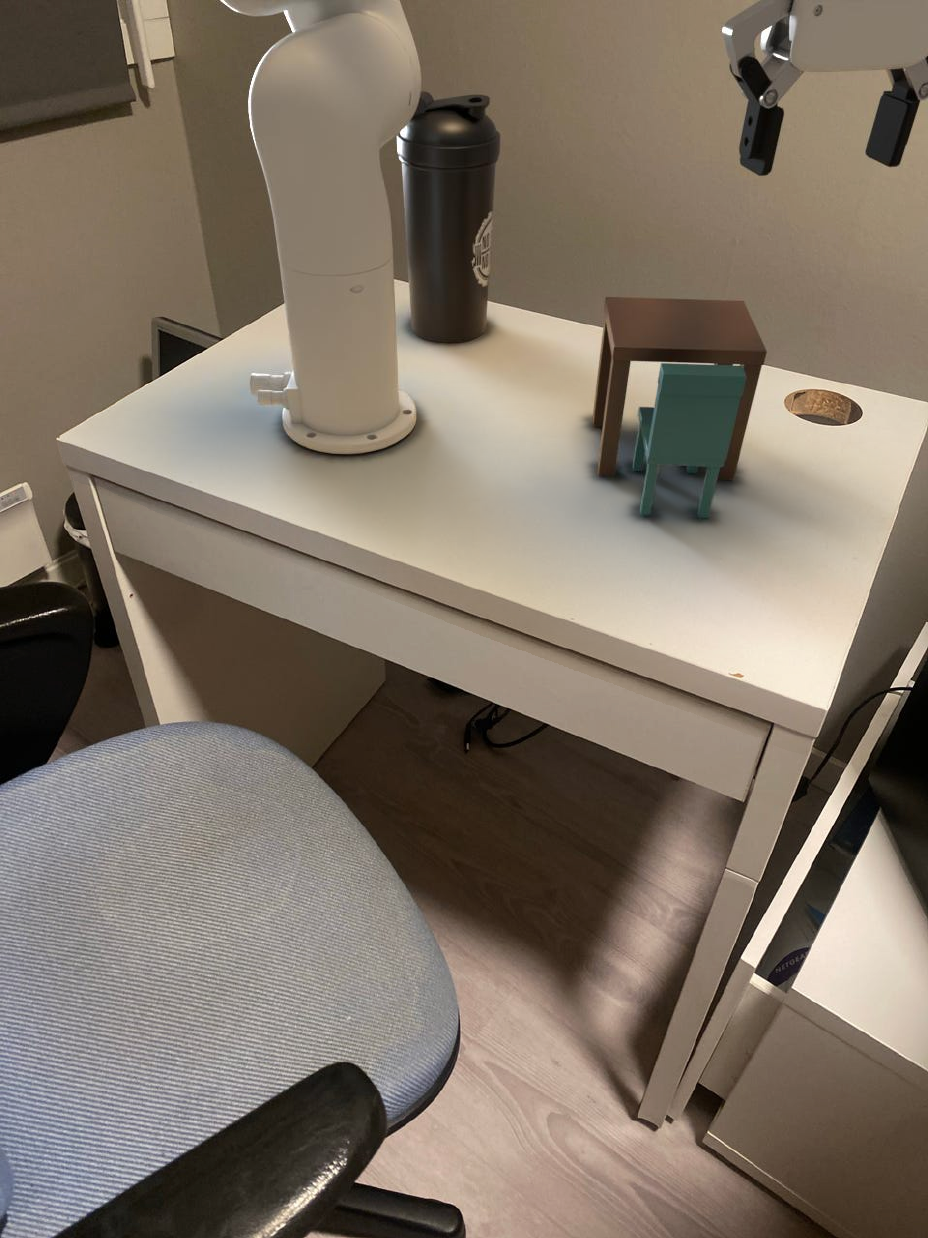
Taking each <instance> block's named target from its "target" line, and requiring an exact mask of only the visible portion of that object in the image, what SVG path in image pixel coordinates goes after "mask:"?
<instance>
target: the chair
mask: <svg viewBox="0 0 928 1238" xmlns="http://www.w3.org/2000/svg"><path fill="white" fill-rule="evenodd" d="M658 372H659V373H658V378H657V390H656V395H655V402H654V407H652V406H649V407H648V406H638V409H637V418H638V427H637V434H636V441H635V447H634V454H633V460H632V466H631V467H632V471H633V472H642V471H643V468H644V460H645V459H646V460H645V461H646V470H645V476H644V480H643V481H644V482H643V488H642V493H641V500H640V505H639V514H640V516H647V517H648V516H649V517H650V516H651V513H652V512H651V511H652V508H653V507H652V506H653V501H654V495H655V491H656V484H657V478H658V472H659V466H677V467H678V466H680V467H686V472H687V474H697V472H698V468H699V467H706V472H705V477H704V481H703V484H702V490H701V494H700V499H699V504H698V508H697V517H698V518H700V519H705V518H706V519H708V518H709V516H710V512H711V507H712V504H713V500H714V494H715V491H716V486H717V483H718V474H719V469H720V467H723V466H724V462H725V460H726V457H727V452H728V448H729V444H730V440H731V436H732V431H733V427H734V423H735V419H736V414H737V410H738V406H739V402H740V398H741V397H742V394H743V390H744V386H745V382H746V378H747V377H746V374H745V372H744V369H743V367H742V366H740V365H736V364H733V365H714V364H705V363H673V362H660V366H659V371H658Z"/></svg>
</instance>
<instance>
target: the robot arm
mask: <svg viewBox="0 0 928 1238" xmlns="http://www.w3.org/2000/svg"><path fill="white" fill-rule="evenodd" d="M220 1H221V2H222V3H223V4H224V5H226V6H227V7H228V8H230V9H231V10H233V11H234V12H235V13H239V14H241V15H244V16H245V15H246V16H250V17H267V16H273V15H277V14H280V13H283V12H284V15H285V17H286V20H287V22H288V24H289V26H290V28H291V31H292V32H291V33H288V34H287V35H285V36H284V37H282V38H281V39H279V40H278V41H276V42H275V44H273V45H272V46H271V47H270V48H269V49H268V50H267V51H266V53H265V54H264V55H263V57H262V58H261V60H260V61H259V63H258V65H257V67H256V69H255V71H254V74H253V75H252V76H253V77H252V80H251V84H250V88H249V94H248V115H249V123H250V129H251V133H252V139H253V141H254V145H255V149H256V152H257V156H258V159H259V162H260V163H259V164H260V166H261V169H262V172H263V177H264V180H265V184H266V188H267V193H268V197H269V202H270V209H271V213H272V219H273V226H274V227H273V228H274V234H275V241H276V249H277V257H278V261H279V262H278V263H279V269H280V278H281V286H282V291H283V292H282V293H283V301H284V309H285V318H286V325H287V332H288V333H287V334H288V340H289V348H290V356H291V357H290V358H291V364H292V371H284V373H283V375H279V374H278V375H277V374H276V375H274V374H270V373H252V374H251V375H250V378H249V386H250V387H249V388H250V392H251V394H252V395H255V396H257V403H258V405H259V406H283V409H282V414H281V418H282V425H283V429H284V432H285V433H286V435H287V436H288V437H289V438H290V439H291V440H292V441H293V442H295V443H297V444H299V445H300V446H302V447H304V448H307V449H309V450H313V451H315V452H320V453H327V454H334V455H335V454H336V455H355V454H364V453H369V452H370V453H371V452H374V451H375V452H376V451H377V450H382V449H385V448H388V447H390V446H393V445H395V444H396V443H398V442H400V441H402V440H403V439H404V438H405V437H407V435H409V434H410V433H412V430H413V429H414V427H415V426H416V422H417V407H416V403H415V402H414V400H413V398H412V397H411V396H409V394H407V393H406V392H405V391H403V390H401V389H400V387H399V365H398V364H399V363H398V340H397V339H398V338H397V320H396V319H397V317H396V292H395V271H394V270H395V268H394V249H393V247H394V246H393V228H392V227H393V226H392V218H391V209H390V204H389V198H388V194H387V189H386V185H385V181H384V176H383V173H382V172H383V171H382V167H381V160H380V150H381V148H382V147H383V146H384V145H385V144H387V143H388V142H389V141H391V140H392V139H393V138H395V137H397V134H398V133H400V132H401V131H402V130H403V129H404V128H405V127H406V125H407V124H408V123H409V122H410V120H411V118H412V117H413V115H414V113H415V111H416V108H417V105H418V102H419V98H420V93H421V92H422V70H421V64H420V59H419V54H418V51H417V47H416V44H415V40H414V37H413V35H412V34H413V33H412V31H411V29H410V26H409V23H408V20H407V17H406V14H405V11H404V9H403V7H402V3H401V1H400V0H220ZM759 34H761V36H760V43H759V45H760V46H759V47H760V51H761V53H762V54H763V55H764V56H765V57H764V58H763V60H762V61H761V62H760V61H759V59H757V57H756V53H755V51H756V49H755V41H756V38H757V36H759ZM722 36H723V40H724V45H725V50H726V54H727V57H728V59H729V65H728V66H729V67H728V68H729V72H730V74H731V75H732V77H733V78H734V79H735V82H737V84H738V86H739V88H740V90H741V94H742V97H743V98H745V99H746V100H747V105H746V110H745V115H744V121H743V125H742V129H741V130H742V131H741V134H740V135H741V136H740V141H739V146H738V152H739V155H740V157H739V163H740V164H739V165H740V166H742V167H744V168H745V169H747V170H748V171H750V172H752V173H753V174H755V175H757V176H758V177H763V176H764V177H765V176H769V174H770V173H771V172H772V170H773V166H774V162H775V157H776V153H777V148H778V144H779V139H780V135H781V131H782V127H783V122H784V121H783V120H784V118H785V117H784V116H785V110H784V108H783V107H780V106H778V104H779V102H780V100H781V99H782V98H783V97H784V96H785V95H786V94H787V93H788V92H789V90H790V89H791V88H792V87H793V86H794V84H795V83H796V82H797V81H798V80H799V79H800V78H801V76H802V75H803V74H804V73H805V72H806V73H839V72H841V73H842V72H862V71H863V72H865V71H882V70H885V71H886V74H887V76H888V79H889V83H890V84H891V87H892V88H891V90H884V91H883V93H882V95H881V96H880V98H879V101H878V106H877V109H876V112H875V116H874V119H873V123H872V126H871V130H870V134H869V137H868V141H867V144H866V147H865V155H866V156H867V157H868V158H870V159H871V160H874V161H876V162H877V163H880V164H882V165H884V166H886V167H888V168H896V167H899V166H900V164H901V162H902V159H903V156H904V152H905V149H906V146H907V144H908V142H909V138H910V136H911V132H912V129H913V126H914V123H915V120H916V116H917V113H918V110H919V107H920V103H921V101H926V100H927V99H928V0H758V1H757V2H755V3H753V4H752V5H750V6H748V7H747V8H745V9H744V10H743V11H740V13H737V14H736V15H734V16H733V17H731V18H730V19H728V20H727V21H725V23H724V24H723V27H722Z"/></svg>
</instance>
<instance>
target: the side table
mask: <svg viewBox="0 0 928 1238" xmlns="http://www.w3.org/2000/svg"><path fill="white" fill-rule="evenodd" d="M603 311H604V318H603V325H602V334H601V344H600V352H599V360H598V369H597V377H596V386H595V395H594V402H593V410H592V411H593V412H592V427H594V428H602V429H601V435H600V436H601V437H600V444H599V453H598V460H597V471H598V472H597V473H598V474H597V475H598V476H608V477H611V476H612V477H615V475H616V467H617V460H618V452H619V446H620V439H621V433H622V426H623V419H624V411H625V403H626V398H627V392H628V385H629V384H628V383H629V377H630V369H631V363H632V362H650V363H652V362H653V363H677V364H709V365H739V366H742V367H743V369H744V372H745V374H746V377H747V378H746V382H745V386H744V390H743V394H742V397H741V398H740V402H739V406H738V410H737V414H736V419H735V423H734V427H733V431H732V436H731V440H730V444H729V448H728V452H727V457H726V460H725V462H724V466H723V467H720V469H719V474H718V478H717V480H720V481H721V480H723V481H724V480H726V481H734V479H735V476H736V471H737V467H738V463H739V459H740V455H741V452H742V448H743V443H744V440H745V435H746V431H747V428H748V423H749V419H750V415H751V411H752V407H753V403H754V399H755V396H756V391H757V387H758V382H759V379H760V374H761V371H762V366H764V365H765V362H766V357H767V353H768V351H767V348H766V347H765V344H764V342H763V340H762V338H761V336H760V334H759V331H758V329H757V327H756V324H755V322H754V320H753V318H752V315H751V313H750V312H749V309H748V306H747V305H746V302H745V300H728V299H727V300H726V299H724V300H723V299H697V298H696V299H695V298H694V299H693V298H665V297H664V298H661V297H629V296H628V297H623V296H605V298H604V306H603Z"/></svg>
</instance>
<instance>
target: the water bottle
mask: <svg viewBox="0 0 928 1238" xmlns="http://www.w3.org/2000/svg"><path fill="white" fill-rule="evenodd" d="M490 102H491V97H490V96H488V95H484V94H466V95H459V96H451V97H446V98H439V99H434V97H433V95H432V94H431V93H430V92H428V91H423V90H421V93H420V98H419V102H418V105H417V108H416V111H415V113H414V115H413V117H412V118H411V120H410V122H409V123H408V124H407V125H406V127H405V128H404V129H403V130H402V131H401V132H400V133H398V134H397V135H396V147H397V150H396V151H397V155H398V159H399V161H400V162H401V173H402V189H403V205H404V206H403V207H404V223H405V224H404V225H405V240H406V241H405V242H406V257H407V258H406V259H407V274H408V275H407V276H408V277H407V278H408V293H409V307H410V308H409V309H410V311H409V312H410V322H411V323H410V326H411V331H412V332H413V333H414V334H415V335H416V336H418V337H420V338H421V339H424V340H427V341H431V342H435V343H442V344H444V343H445V344H450V343H452V344H453V343H454V344H455V343H464V342H468V341H472V340H474V339H477V338H479V337H480V336H482V335H483V334H484V333H485V332H486V329H487V319H488V318H487V317H488V301H489V300H488V298H489V285H490V284H489V283H490V274H491V273H490V272H491V259H492V258H491V255H492V242H493V241H492V239H493V225H494V223H493V221H494V206H495V205H494V197H495V180H496V165H497V162H498V160H499V156H500V154H501V133H500V132H499V131H498V130H497V128H496V125H495V123H494V121H493V120H492V118H491V117H490V116H489V115H488V114H486V112H487V111H486V109H487V108H488V107H489V105H490Z"/></svg>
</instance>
